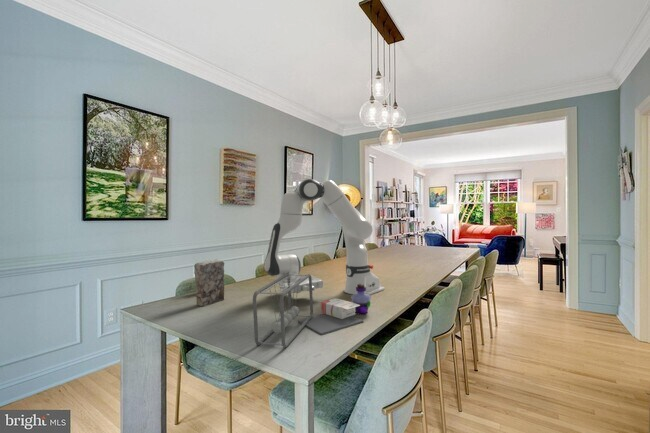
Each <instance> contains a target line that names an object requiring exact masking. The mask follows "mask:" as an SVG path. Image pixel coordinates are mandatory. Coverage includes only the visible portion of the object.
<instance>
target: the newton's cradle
mask: <svg viewBox="0 0 650 433" xmlns="http://www.w3.org/2000/svg"><path fill="white" fill-rule="evenodd" d="M291 275H292V274H288V273H287V274H285V275H283V276H281V277H280V278H278V279H276V278H275V279H274V280H273V281H270V282H269V283H268V284H266V285H264V286H263V287H261V288H259V289H257V290H256V291H254V292H253V296H252V311H253V312H252V314H253V330H254V335H253V336H254V343H255V345H256V346H260V345H271V346H281V347H283V348H287V347H288V346H289V345H290V344H291V343H292V342H293V340H294V339H295V338H296V337H297V335H299V333H300V332H301V331H302V330H303V328H304V327H306V326H305V325H306V324H307V322H308V321H309V320H310V319H311V318H312V317H313V316H314V302H313V300H314V299H313V298H314V297H313V291H312V277H313V276H312V277H311V274H310V273H308V274H300V275H292V276H302V277H303V276H305V277H303V278H302V277H300V278H298V279H297V280H296V281H298V280H299V279H301V278H302V279H301V280H299V281H298V282H296V281H294V282H293V283H295V284H294V285H292V284H293V283H290V276H291ZM285 277H286V278H287V280H285V279H286V278H285ZM308 277H309V291H308V293H309V309H310V310H309V312H310V313H309V315H301V314H300V308H299V307H298V306H296V304H297V302H295V304H294V300H292V299H293V298H294V296H295V293H292V294H291V290H292V289H294V290H295V287H296V286H298V285H299V284H300V283H302V282H303V281H304V280H306V279H307V278H308ZM282 279H283V280H282ZM280 280H281V281H280ZM279 281H280V282H282V281H283V282H284V281H288V283H286V284H288V286H287V287H286V288H287V290H286V288H284V289H281V288H280V284H278V283H280V282H279ZM277 282H278V283H277ZM276 286H278V287H279V290H280V291H279V292H277V288H275V287H276ZM290 286H291V287H290ZM273 287H274V290H275V292H271V289H273ZM284 287H285V285H284ZM284 290H285V291H284ZM267 291H269V292H267ZM297 291H298V289H297ZM287 293H288V294H287ZM259 294H264V295H266V294H267V295H270V296H271V298H270V299H271V302H272V306H273V308H275V306H274V301H273V295H276V296H278V295H280V296H279V298H278V297H276V299H277V303H278V304H277V305H279V306H278V308H279V316H278V319H275V322H273V324H272V326H271V329H270V330H268V332H267V333H266V334H265V335H264V336H263V337H262V338H260V339H259V328H258V327H259V326H258V304H257V303H258V302H257V297H258V295H259ZM292 295H293V296H292ZM284 297H286V299H285V302H284ZM297 297H298V295H296V297H295V300H297V299H298V298H297ZM286 302H287V307H288V308H287V311H286ZM273 312H274V313H276V312H275V309H273ZM299 314H300V315H299ZM274 315H275V318H277V317H276V316H277V315H276V314H274ZM296 317H299V318H300V317H303V318H305V319H306V318H307V319H306V320H305V321H304V322H303V324H301V325H300V326H299V327H298V328H297V329H296V330H295V331H294V333H293V334H292V335H291V336H290V337H289V338H288V339H287V341H286V332H285V328H286V327H287V326H288V324H291V323H292V321H293V320H294V319H296ZM273 333H275V334H281V335H280V337H281V340H280V341H281V343H272V342H265V341H266V340H267V339H268V337H270V336H271V335H272V334H273Z"/></svg>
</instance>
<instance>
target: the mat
mask: <svg viewBox="0 0 650 433" xmlns="http://www.w3.org/2000/svg"><path fill="white" fill-rule="evenodd" d="M307 318H308V317H305V318H302V319H299V320H297V322H298V323H300V324H301V325H302V324H303V322H304V321H305V320H306V319H307ZM364 322H365V321H364V320H363V319H361V318H359V317H356V316H355V315H353V316H350V317H347V318H344V319H339V318H336V317H333V316H330V315H327V314H323V313H321V314H318V315H315V316H314V315H313V316H312V318H311V319H310V320H309V321H308V322H307V324H306V325H305V326H304V327H306V328H308V329H310V330H312V331H313V332H315V333H317V334H319V335H320V336H323V335H326V334H331V333H332V332H336V331H339V330H341V329H342V330H343V329H345V328H346V329H347V328H348V327H351V326H352V327H353V326H355V324H356V325H359V324H362V323H364ZM358 323H359V324H358Z"/></svg>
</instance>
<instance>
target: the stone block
mask: <svg viewBox="0 0 650 433" xmlns="http://www.w3.org/2000/svg"><path fill="white" fill-rule="evenodd" d="M193 268H194V269H193V270H194V271H193V272H194V278H195V297H196V298H195V299H196V305H197V306H200V307H206V306H210V305H212V304H216V303H219V302H221V301H225V269H224V268H225V262H224V261H222V260H219V259H212V260H210V259H209V260H204V261H200V262H196V263H195V264H194V267H193Z"/></svg>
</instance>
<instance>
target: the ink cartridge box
mask: <svg viewBox="0 0 650 433" xmlns="http://www.w3.org/2000/svg"><path fill="white" fill-rule="evenodd" d="M320 305H321V314H327V315H330V316H333V317H336V318H339V319H344V318H347V317H350V316H355V315H356V313H355V307H358V306H360V305H358V304H356V303H353V302H352V301H348V300H344V299H340V298H336V297H334V298H331V299H328V300H325V301H321V304H320Z"/></svg>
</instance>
